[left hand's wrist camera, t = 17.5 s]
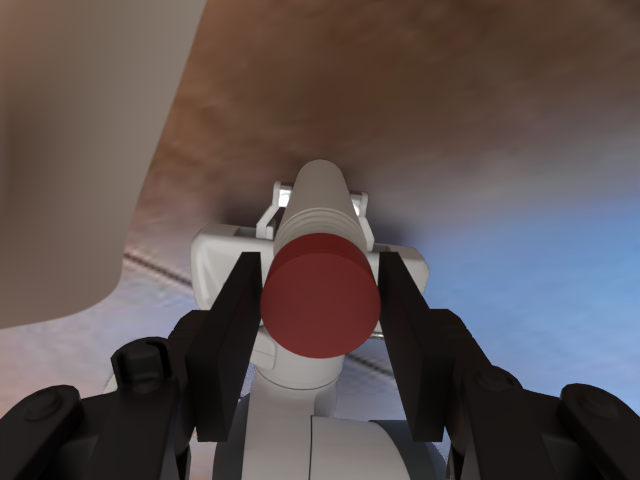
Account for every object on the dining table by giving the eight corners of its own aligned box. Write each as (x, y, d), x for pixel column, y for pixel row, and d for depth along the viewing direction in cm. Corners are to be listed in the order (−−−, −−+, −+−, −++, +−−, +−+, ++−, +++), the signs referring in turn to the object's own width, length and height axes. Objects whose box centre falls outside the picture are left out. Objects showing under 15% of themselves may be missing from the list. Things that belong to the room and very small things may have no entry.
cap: (365, 329, 16) (372, 362, 14) (266, 322, 15) (258, 355, 13) (379, 236, 14) (389, 258, 12) (270, 227, 14) (261, 248, 12)
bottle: (289, 197, 35) (240, 332, 14) (305, 151, 34) (281, 223, 12) (333, 214, 36) (353, 368, 14) (351, 170, 34) (405, 269, 13)
